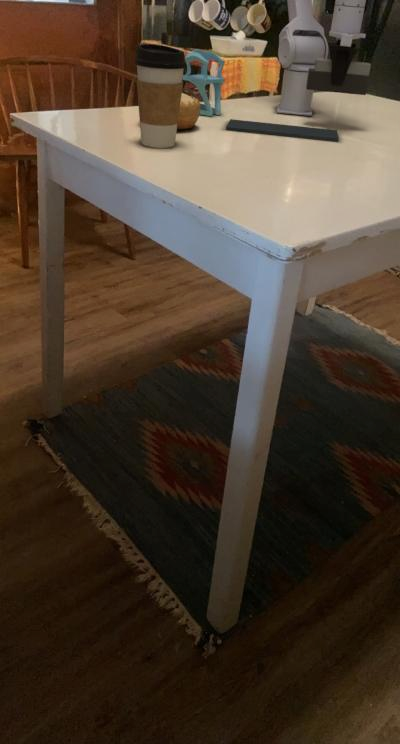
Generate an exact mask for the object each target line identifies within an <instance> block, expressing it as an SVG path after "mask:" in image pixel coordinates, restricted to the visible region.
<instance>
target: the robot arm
mask: <svg viewBox="0 0 400 744" xmlns="http://www.w3.org/2000/svg"><path fill="white" fill-rule="evenodd" d="M286 1H287V2H286V3H287V14H288V23H287V24H286V25H285V26H284V27H283V28H282V30H281V31H280V33H279V35H278V40H279V41H278V42H279V43H278V49H277V56H278V57H277V58H278V61H279V63H280V65H281V68H283V75H282V76H283V77H282V84H281V92H280V99H279V103H278V104H277V108H276V113H278V114H286V115H296V116H297V115H298V116H305V117H306V116H307V117H312V116H313V107H312V104H313V96H314V91H315V90H307V89H306V84H307V78H308V71H309V68H315V61H316V58H322V59H328V56H329V59H332V72H331V82H332V85H340V86H342V84H343V82H344V80H345V77H346V74H347V71H348V68H349V66H350V63H351V61H353V59H354V58H355V56H356V54H357V53H358V52H359V48H358V47H357V44H356V43H355V42H353V40H359V39H366V33H362V32H361V29H362V23H363V18H364V14H365V13H364V12H365V6H366V3H367V0H335V1H334V7H333V13H332V19H331V25H330V30H329V32H328V36H329V37H332V38H333V37H334V38H336V41H335V42H328V40H327V38H326V36H325V29H324V27H323V26H322V25H321V24H320V22H318V20H316V19H315V18H314V10H313V9H314V8H313V0H286Z"/></svg>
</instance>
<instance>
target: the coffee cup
mask: <svg viewBox="0 0 400 744" xmlns="http://www.w3.org/2000/svg"><path fill="white" fill-rule="evenodd" d="M185 57H186V56H185V51H183V50H181V49H178V48H174V47H171V46H168V45H163V44H156V43H155V44H154V43H141V44H137V48H136V55H135V57H134V65H135V66H136V70H137V72H136V73H137V78H136V87H137V88H136V90H137V102H138V103H137V104H138V115H139V116H138V117H139V127H140V130H139V131H140V143H141V144H142V145H143V146H145V147H149V148H155V149H169V148H173V147H174V146H176V139H177V131H178V129H177V123H178V117H179V109H180V102H181V95H182V93H183V86H184V80H182V79H183V75H184V69H187V64H186V59H185Z"/></svg>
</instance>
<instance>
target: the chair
mask: <svg viewBox="0 0 400 744" xmlns="http://www.w3.org/2000/svg"><path fill="white" fill-rule="evenodd" d="M184 57H185V62H186V64H185V65H186V73H185V74H183V77H182V81H185V82H189V83H191V84H193V85H194V86H195V87H196V88H197V90H198V92H199V94H200V96H201V98H202V100H203V103H200V114H199V116H200V115H201V116H206V117H214V115H216V116H221V114H222V113H221V112H222V111H221V101H222V100H221V97H222V95H221V94H222V86H223V84H224V83H226V77H223V75H222V72H223V71H222V70H223V68H224V65H225V62H226V60H225V59H222V58H221V57H220V56H219V55H218V54H216V53H214V52H213V51H205V50H202V49H199V48H198V49H194V50H192V51H190V52H188V53H187V54H186V55H185V56H184ZM210 60H214V61H216V62H218V64H219V67H218V69H217V76H213V75H210V74H208V72H209V71H208V70H209V65H210ZM194 61H198V62H200V64H201V69H200V73H197V74H196V73H195V74H191V73H192V68H191V64H190V63H191V62H194ZM211 84H212V86H213V89H214V107H212V105H211V103H210V100H209V97H208V95H207V91H206V86H207V85H211Z"/></svg>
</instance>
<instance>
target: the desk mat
mask: <svg viewBox="0 0 400 744" xmlns="http://www.w3.org/2000/svg"><path fill="white" fill-rule="evenodd" d="M225 131H231V132H232V131H233V132H242V133H251V134H260V135H268V136H269V135H270V136H279V137H289V138H297V139H298V138H299V139H307V140H309V139H310V140H317V141H326V142H327V141H328V142H337V143H338V142H339V140H340V138H339V132H338V129H328V128H321V127H312V126H311V127H310V126H301V125H291V124H282V123H271V122H261V121H253V120H252V121H251V120H242V119H233V118H231V119H229V120H228V122H227V125H226V126H225Z"/></svg>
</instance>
